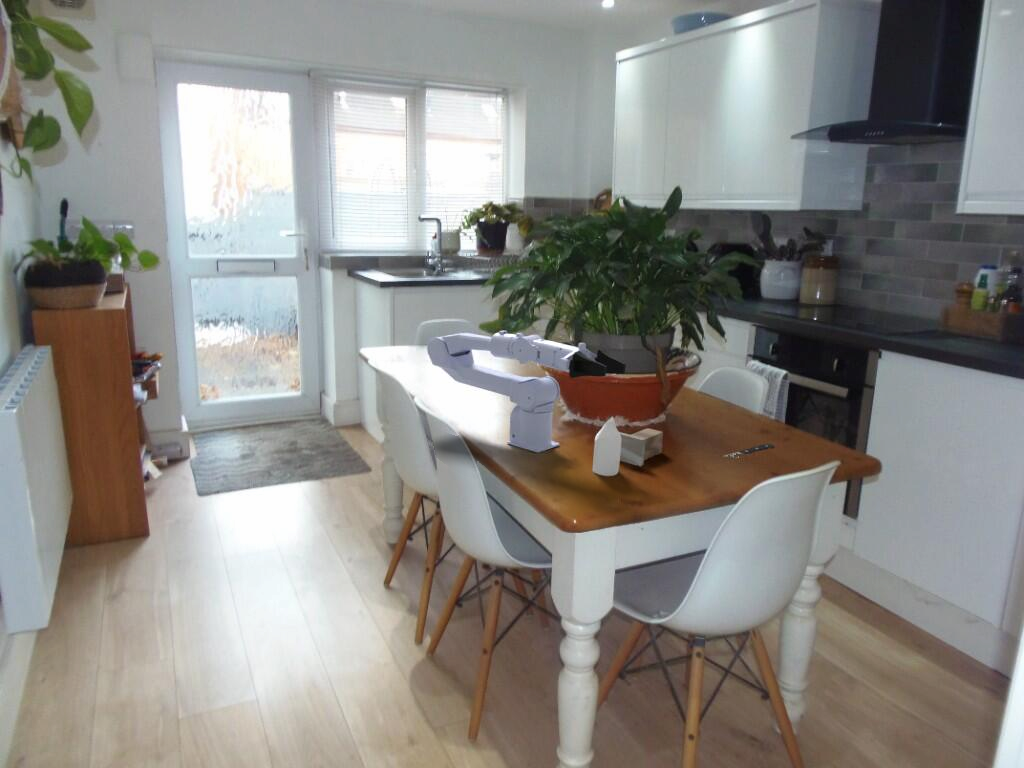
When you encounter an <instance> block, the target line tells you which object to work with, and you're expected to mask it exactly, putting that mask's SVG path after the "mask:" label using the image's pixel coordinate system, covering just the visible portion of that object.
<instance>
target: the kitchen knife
mask: <svg viewBox="0 0 1024 768" xmlns="http://www.w3.org/2000/svg"><path fill="white" fill-rule="evenodd" d="M768 448H774V449H775V446H774V444H770V443H769V444H768V443H765V444H760V445H757V446H752V447H750V448H749V447H748V448H747V449H743V450H739V451H737V452H733V453H730V454H726V455H724V457H728V455H730V458H735V457H734V455H736V453H737V454H742V453H743V454H747V455H749V454H748V453H750V454H753V453H756V452H755V451H757V452H760V451H764V450H763V449H765V450H769V449H768ZM759 450H760V451H759ZM752 452H753V453H752ZM731 454H732V455H731ZM731 456H732V457H731ZM728 458H729V457H728ZM737 458H739V456H738V457H737Z"/></svg>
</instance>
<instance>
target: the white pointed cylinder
mask: <svg viewBox="0 0 1024 768" xmlns="http://www.w3.org/2000/svg"><path fill="white" fill-rule="evenodd" d="M619 432H620V431H619V429H618V428H617V426H616V421H615V418H614V416H611V417H610V418H609V419H608V420H607V421H606V422H605V423H604V424H603V426H602V427H601V428H600V430H599V431H598V432H597V433H596V435H595V437H594V449H593V461H592V472H593V473H594V474H597V475H598V476H603V477H613V476H616V475H618V473H619V470H620V462H621V461H620V452H621V436H620V434H619Z"/></svg>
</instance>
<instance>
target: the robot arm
mask: <svg viewBox="0 0 1024 768" xmlns="http://www.w3.org/2000/svg"><path fill="white" fill-rule="evenodd" d="M586 347H587V344H586V343H585V342H579V343H578V345H577V346H573V345H569V344H565V343H561V342H557V341H552V340H548V339H544V338H543V336H541V335H540V334H536V333H532V334H530V335H527V336H525V335H524V333H523V332H522V333H521V332H517V333H516V334H514V333H508V330H500V331H499V332H496V333H494V334H493V335H492V336H488V335H483V334H476V333H471V332H463V333H462V332H456V333H454V334H449V335H442V336H433V337H431V338H430V339H429V340H428V342H427V348H426V350H427V351H426V352H427V354H428V357H429V359H430V362H431V363H432V365H433V366H435V367H438V368H440V369H442V370H443V371H444V372H445V373H446V374H447V375H448V376H450V377H451V378H452V379H453V380H454V381H455V382H457V383H460V384H465V385H467V386H470V387H473V388H474V387H475V388H477V389H481V390H486V391H488V392H493V393H496V394H500V395H502V396H506V397H509V401H510V402H511V403H514V404H516V405H515V406H514V407H513V408H512V411H511V413H510V417H509V418H510V419H509V440H507V441H506V443H507V444H508V445H512V446H514V447H518V448H522V449H525V450H528V451H530V452H534V453H541V452H544V451H547V450H549V449H552V448H555V447H558V446H560V442H558V441H557V442H556V441H553V440H552V438H553V437H552V436H553V413H554V412H553V411H554V407H555V402H557V401H558V400H559V397H560V395H561V388H560V384H559V382H558V381H557V379H555V378H554V377H552V376H548V375H546V376H542V377H536V376H522V375H521V376H520V375H516V374H512V373H509V372H505V371H501V370H497V369H493V368H489V367H486V366H482V365H478V364H474V363H475V361H474V356H473V351H475V350H476V351H487V352H488V351H489V352H490V354H491V355H492V356H493V357H495V358H501V359H507V360H515V361H518V362H519V364H521V365H524V364H527V363H529V362H530V363H533V364H537V365H541V366H543V367H547V368H552V369H556V370H559V371H563V372H567V373H569V374H568V376H569V378H570V379H576V378H580V377H597V378H598V377H599V378H601V377H603V378H604V377H606V375H607V374H615V375H623V374H625V373H626V368H627V365H626V364H627V363H625V362H622V361H621V360H618V359H617V358H615V357H613V356H612V355H611V354H609V352H608V351H607V350H605V349H603V348H601V349H600V348H599V349H597V352H596V354H595V353H593V352H592V351H590V350H589V349H587V348H586ZM472 350H473V351H472Z"/></svg>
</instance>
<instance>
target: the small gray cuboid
mask: <svg viewBox="0 0 1024 768" xmlns="http://www.w3.org/2000/svg"><path fill="white" fill-rule="evenodd" d="M618 432H619V434H620V436H621V452H620V462H622V463H623V462H624V463H627V464H631V465H634V466H637V465H638V467H643V466H644V463H645V462H644V461H646V460H649V459H650V458H652V457H655V455H656V456H657V455H660V454H662V449H663V448H662V447H663V438H664V431H661V430H658V429H657V430H656V429H652V428H648V427H647V428H645V429H642V430H639V431H637V432H634V433H631V434H629V433H624V432H620V431H618ZM648 458H649V459H648ZM642 465H643V466H642Z"/></svg>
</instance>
